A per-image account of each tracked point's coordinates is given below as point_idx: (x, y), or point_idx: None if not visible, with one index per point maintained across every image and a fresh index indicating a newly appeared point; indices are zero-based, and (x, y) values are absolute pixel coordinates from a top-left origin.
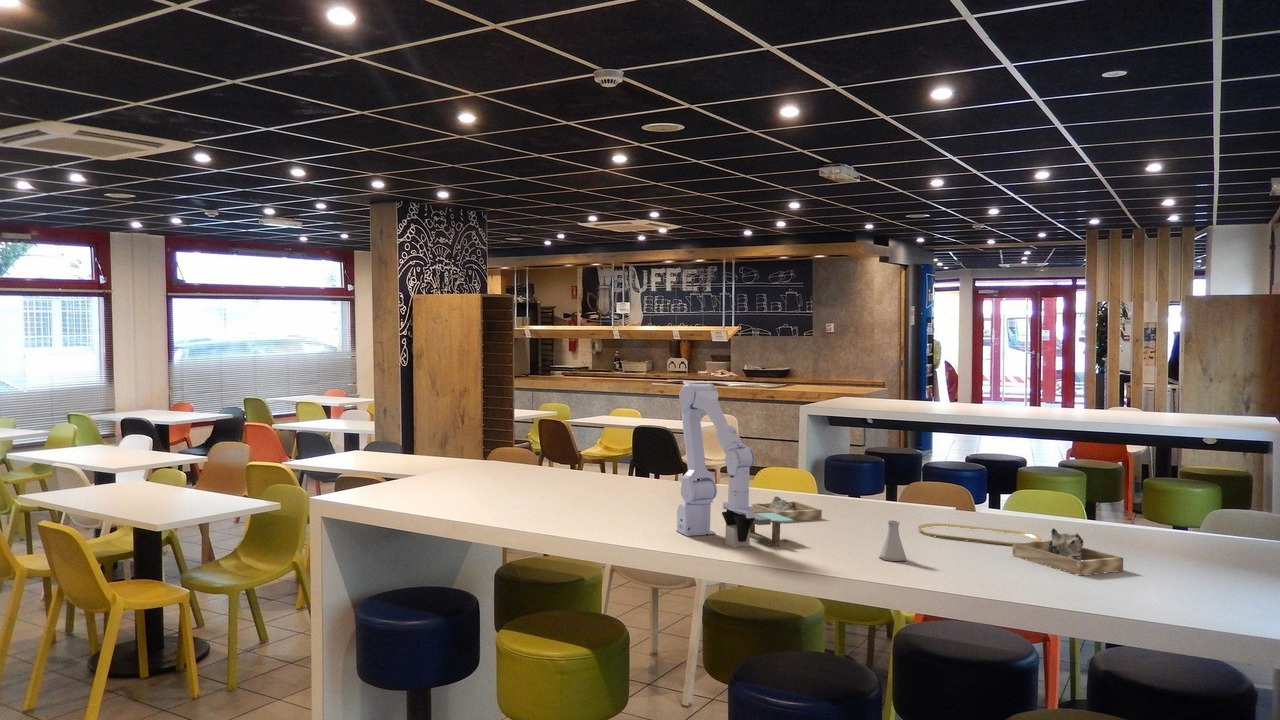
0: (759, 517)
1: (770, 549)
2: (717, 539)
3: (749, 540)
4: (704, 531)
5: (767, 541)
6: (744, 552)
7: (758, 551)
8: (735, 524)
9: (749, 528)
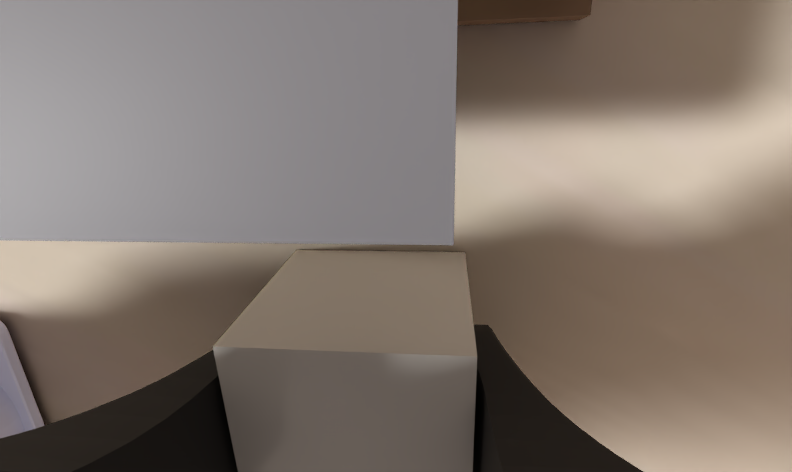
0: (176, 63)
1: (698, 127)
2: None
3: (467, 276)
4: (4, 418)
5: (457, 21)
6: (678, 412)
7: (710, 289)
8: (218, 420)
9: (556, 410)
